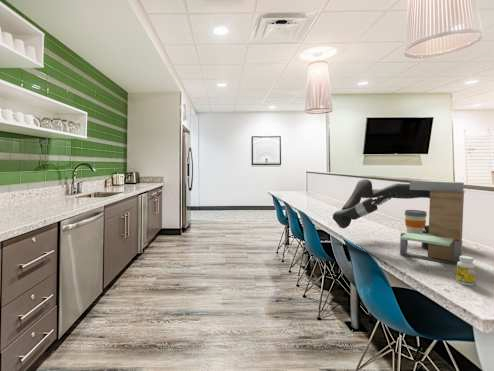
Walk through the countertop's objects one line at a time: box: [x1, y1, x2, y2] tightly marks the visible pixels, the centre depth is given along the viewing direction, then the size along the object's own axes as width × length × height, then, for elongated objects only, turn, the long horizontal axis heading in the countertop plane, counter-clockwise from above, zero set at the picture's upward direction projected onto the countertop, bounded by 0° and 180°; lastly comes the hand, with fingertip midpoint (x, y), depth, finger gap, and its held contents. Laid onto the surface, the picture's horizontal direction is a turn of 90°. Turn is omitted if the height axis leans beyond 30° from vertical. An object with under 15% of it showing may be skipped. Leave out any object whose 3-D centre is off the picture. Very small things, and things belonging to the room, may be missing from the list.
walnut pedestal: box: [427, 190, 465, 261], centre depth 133 cm, size 8×12×32 cm
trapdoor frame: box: [399, 232, 463, 266], centre depth 132 cm, size 3×24×10 cm, turn 47°
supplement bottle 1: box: [421, 224, 429, 250], centre depth 151 cm, size 7×7×12 cm
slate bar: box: [409, 181, 465, 192], centre depth 135 cm, size 4×21×4 cm, turn 47°
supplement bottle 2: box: [456, 255, 476, 286], centre depth 104 cm, size 5×5×10 cm
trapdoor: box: [400, 232, 453, 246], centre depth 127 cm, size 14×18×1 cm
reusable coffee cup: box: [404, 209, 428, 234], centre depth 186 cm, size 13×13×15 cm
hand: (393, 193), depth 147 cm, fingers open, 8 cm apart
